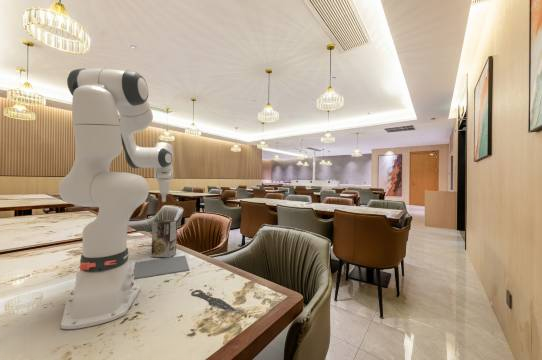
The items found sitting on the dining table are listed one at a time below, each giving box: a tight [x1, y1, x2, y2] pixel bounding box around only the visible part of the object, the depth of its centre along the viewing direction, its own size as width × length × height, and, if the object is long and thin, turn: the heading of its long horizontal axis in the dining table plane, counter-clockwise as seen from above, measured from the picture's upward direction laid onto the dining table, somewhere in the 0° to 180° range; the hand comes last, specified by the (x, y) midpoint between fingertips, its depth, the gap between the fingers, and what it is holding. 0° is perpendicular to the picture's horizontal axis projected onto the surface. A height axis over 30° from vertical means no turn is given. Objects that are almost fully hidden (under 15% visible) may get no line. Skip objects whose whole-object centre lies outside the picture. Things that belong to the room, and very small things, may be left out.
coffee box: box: [150, 219, 178, 258], centre depth 107 cm, size 9×6×16 cm
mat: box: [133, 255, 190, 280], centre depth 94 cm, size 17×20×1 cm
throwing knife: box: [190, 289, 240, 314], centre depth 69 cm, size 4×20×1 cm, turn 57°
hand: (163, 201), depth 117 cm, fingers closed
